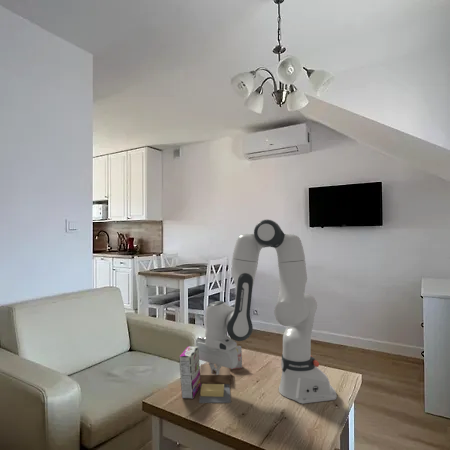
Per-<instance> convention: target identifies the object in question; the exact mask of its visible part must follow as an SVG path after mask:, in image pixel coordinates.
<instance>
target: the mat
mask: <svg viewBox="0 0 450 450" xmlns="http://www.w3.org/2000/svg"><path fill="white" fill-rule="evenodd" d="M201 387H202V384H201V386H200V388H199V389H200V391H201ZM200 391H199V392H200ZM231 398H232V397H231V385H229V384H224V396H223V397H215V396H200V395H199V400H198V403H199V404H223V403H224V404H232V400H231Z"/></svg>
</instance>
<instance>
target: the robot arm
mask: <svg viewBox="0 0 450 450" xmlns="http://www.w3.org/2000/svg"><path fill="white" fill-rule="evenodd" d="M236 239H237V240H236V242H235V245H234V248H233V252H232V258H231V259H232V260H231V275H232V278H233V280H234V281H233V282H234V286H235V300H234V307H233V306H232V305H229V304H227V303H226V302H225V301H222V300H216V301H212V302H210V303H208V304H207V306H206V308H205V316H204V317H205V321H204V324H205V332H204V337H202V336H199V337H197V338H196V339H195V346H196V347H198V351H199V361H201V362H202V361H203V362H206V363H208V364H209V365H210V368H211V373H212V374H216V375H218V374H219V370H220V368H221V367H222V366H223V367H227V368H230V370H234V369H233V368H235V367H236V366H237V365H238V354H237V350H236V348H235V347H236V346H238V344H237V342H243V341H245V340H246V341H247V339H249V338H250V337H251V335H252V333H253V323H252V319H251V305H252V295H253V287H254V284H255V283H254V282H255V279H256V278H255V277H256V275H257V270H258V264H259V256H260V253H261V250H262V249H263V248H273V249H275V251H276V254H277V263H278V265H277V266H278V273H279V275H278V276H279V288H278V296H277V301H276V305H275V307H274V310H273V312H274V313H273V314H274V317H275V319H276V321H277V323H279V324H280V325H281V326H284V327H285V330H284V333H283V334H282V354H281V360H280V361H281V363H280V365H281V379H280V382H279V387H278V392H279V393H280V394H281V396H283V397H285V398H287V399H289V400H293V401H295V402H297V403H299V404H303V405H304V404H311V403H319V402H328V401H336V400H337V391H336V390H335V388H334V387H333V386H332V385H331V383H330V380H329V377H328V376H327V374H326V373H324V372H323V371H322V370H321V369H320V368H319V366H320V362H319V361H318V360H316V358H314V357H313V355H311V348H312V347H311V343H312V342H311V341H312V340H311V339H312V331H313V327H314V322H315V314H316V313H317V312H316V311H317V309H318V302H317V299H316V298H315V297H314V295H312V294H310V293H307V292H306V291H305V290H306V284H307V281H308V276H307V275H308V274H307V266H306V264H307V263H306V257H305V251H304V245H303V244H302V240H301V238H300V237H299V236H298V235H295V234H294V233H293V234H292V233H289V234H286V233H284V231H283V230H282V229H281V226H280V225H279V224H278V223H277V222H276V221H274V220H272V219H262V220H260V221H259V222H257V223H256V225H255V227H254V228H253V233H244V234H241V235H239V236H238V237H237V238H236ZM227 334H228V335H227ZM214 364H216V367H217V369H216V368H215V366H214Z"/></svg>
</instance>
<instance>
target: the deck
mask: <svg viewBox="0 0 450 450" xmlns="http://www.w3.org/2000/svg"><path fill="white" fill-rule="evenodd" d="M200 364H201V363H200ZM214 366H215V368H216V369H217V367H216V364H214ZM200 379H201V384H229V385H230V386H231V385H232V383H231V381H232V380H231V369H230V368H227V367H223V366H222V367H221V368H220V370H219V374H218V375H216V374H212V373H211V368H210V365H209V363H208V364H207V363H206V364H205V363H204V364H201V365H200Z"/></svg>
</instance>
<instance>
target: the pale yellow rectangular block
mask: <svg viewBox="0 0 450 450" xmlns="http://www.w3.org/2000/svg"><path fill="white" fill-rule="evenodd" d="M200 389H201V391H199V397H200V396H215V397H223V396H224V384H202V387H201V386H200Z"/></svg>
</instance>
